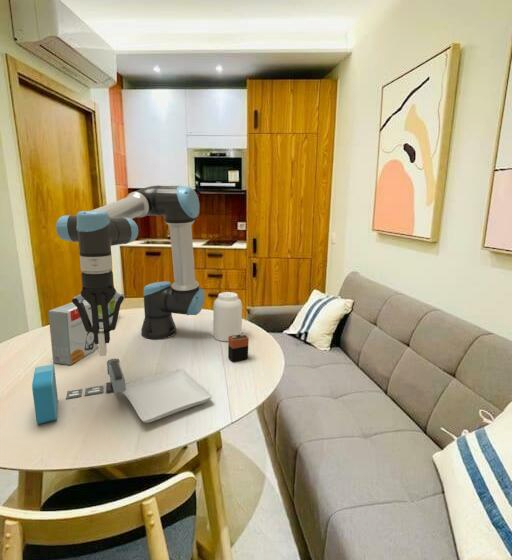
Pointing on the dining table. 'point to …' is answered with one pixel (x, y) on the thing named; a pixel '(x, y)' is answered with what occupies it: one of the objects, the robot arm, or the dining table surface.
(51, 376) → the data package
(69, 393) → the label plate
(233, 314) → the white jar
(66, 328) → the hard drive box
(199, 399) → the salad plate
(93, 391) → the label plate
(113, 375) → the swing arm
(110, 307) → the tea box
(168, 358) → the dining table surface
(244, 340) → the battery
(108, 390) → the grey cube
